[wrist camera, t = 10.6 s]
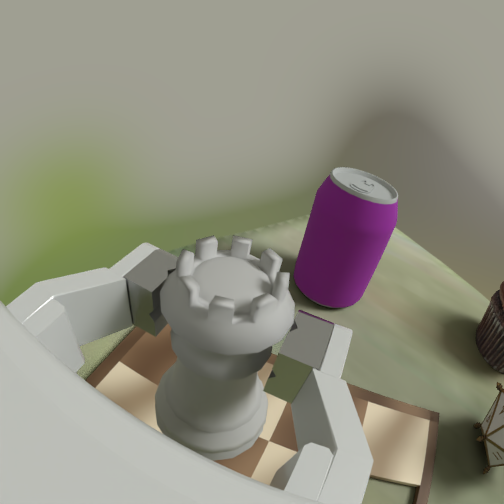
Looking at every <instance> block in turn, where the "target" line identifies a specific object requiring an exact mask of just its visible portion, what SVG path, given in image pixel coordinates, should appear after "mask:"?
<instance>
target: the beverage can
mask: <svg viewBox="0 0 504 504" xmlns="http://www.w3.org/2000/svg"><path fill="white" fill-rule="evenodd" d="M397 203H398V193H397V191H396V190H395V189H394V188H393V187H392V186H391V185H390V184H389V183H387V182H386V181H384V180H382V179H380V178H379V177H377V176H375V175H372V174H370V173H367V172H364V171H361V170H358V169H353V168H347V167H339V168H335V169H333V170H332V171H331V173H330V175H329V176H328V177H327V178H326V180H325V181H324V182H323V184H322V185H321V186H320V188H319V189H318V190H317V193H316V196H315V200H314V204H313V207H312V210H311V214H310V217H309V221H308V224H307V228H306V231H305V234H304V238H303V241H302V244H301V248H300V251H299V254H298V258H297V261H296V265H295V270H294V279H295V283H296V285H297V286H298V287H299V289H300V290H301V292H303V293H304V295H305V296H306V297H308V298H309V299H310V300H311V301H313V302H315V303H317V304H319V305H322V306H325V307H329V308H340V307H348V306H351V305H354V304H355V303H356V302H357V301H359V300H360V298H361V297H362V295H363V293H364V291H365V289H366V287H367V285H368V283H369V281H370V279H371V277H372V275H373V273H374V271H375V269H376V267H377V265H378V263H379V261H380V259H381V256H382V254H383V252H384V250H385V248H386V246H387V243H388V241H389V239H390V237H391V234H392V232H393V230H394V228H395V225H396V222H397V207H398V205H397Z"/></svg>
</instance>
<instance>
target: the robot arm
mask: <svg viewBox="0 0 504 504" xmlns="http://www.w3.org/2000/svg"><path fill="white" fill-rule="evenodd" d="M177 259H178V257H177V256H174V255H172V254H170V253H168V252H166V251H164V250H162V249H159V248H157V247H155V246H153V245H151V244H149V243H143V244H141V245H140V246H139V247H137V248H136V249H135V250H133V251H132V252H131V253H129V254H128V255H127V256H125V257H124V258H123V259H121V260H120V261H119V262H118V263H116V264H115V265H114V266H112V267H111V268H110V269H107V268H100V269H95V270H91V271H86V272H82V273H77V274H72V275H68V276H63V277H59V278H54V279H50V280H45V281H41V282H36V283H35V284H34V285H33V286H31V287H30V288H29V289H27V290H26V291H25V292H24V293H22V294H21V295H20V296H19V297H17V298H16V299H15V300H14V301H12V302H11V303H10V304H9V305H7V306H6V307H5V305H4V304H3V303H2V302H1V301H0V504H361V503H362V500H363V497H364V493H365V490H366V487H367V483H368V480H369V476H370V473H371V469H372V465H373V458H372V455H371V452H370V449H369V446H368V443H367V440H366V437H365V434H364V431H363V428H362V425H361V422H360V419H359V417H358V414H357V411H356V408H355V405H354V402H353V400H352V397H351V394H350V391H349V389H348V386H347V383H346V381H345V380H342V379H340V378H341V375H342V371H343V368H344V364H345V360H346V357H347V353H348V349H349V345H350V341H351V337H352V330H351V329H348V328H346V327H343V326H340V325H338V324H334V323H332V322H329V321H327V320H324V319H322V318H319V317H317V316H314V315H312V314H309V313H307V312H304V311H302V310H299V311H298V313H297V315H296V317H295V320H294V323H293V324H292V327H291V329H290V332H288V334H287V336H286V339H285V341H284V343H283V345H282V347H281V349H280V351H279V353H278V356H277V358H276V360H275V363H274V365H273V367H272V371H271V373H270V375H269V377H268V379H267V382H266V384H265V387H264V389H263V391H264V392H266V393H268V394H271V395H273V396H275V397H277V398H279V399H282V400H284V401H286V402H288V403H291V410H292V416H293V422H294V428H295V434H296V440H297V447H298V452H297V453H296V454H295V455H294V456H293V457H292V458H290V459H289V460H288V461H287V462H286V463H285V464H284V465H283V466H282V467H281V468H279V469H278V470H277V471H276V473H275V475H274V477H273V479H272V481H271V483H270V485H267V484H265V483H262V482H260V481H257V480H255V479H252V478H250V477H247V476H245V475H243V474H240V473H238V472H236V471H234V470H231V469H229V468H227V467H225V466H223V465H220V464H218V463H216V462H214V461H212V460H210V459H208V458H206V457H204V456H202V455H200V454H198V453H196V452H194V451H193V450H191V449H189V448H187V447H185V446H183V445H181V444H180V443H178V442H176V441H174V440H172V439H171V438H169V437H167V436H166V435H164V434H162V433H161V432H159V431H157V430H156V429H154V428H152V427H151V426H149V425H147V424H146V423H144V422H143V421H141V420H140V419H138V418H137V417H135V416H133V415H132V414H130V413H129V412H127V411H126V410H125V409H123V408H122V407H120V406H119V405H117V404H116V403H114V402H113V401H112V400H110V399H109V398H108V397H106V396H105V395H103V394H102V393H101V392H99V391H98V390H97V389H95V388H94V387H93V386H91V385H90V384H89V383H88V382H86V381H85V380H84V379H83V378H81V377H80V376H79V375H78V374H76V372H77V371H78V370H79V368H80V367H81V366H82V365H83V364H84V363H85V358H84V356H83V354H82V351H81V349H80V347H79V346H81V345H84V344H87V343H89V342H92V341H95V340H97V339H100V338H102V337H105V336H108V335H110V334H113V333H115V332H118V331H121V330H123V329H126V328H128V327H131V326H133V325H135V326H137V327H138V328H140V329H142V330H144V331H146V332H147V333H149V334H151V335H153V336H155V337H156V336H157V335H158V334H159V333H160V332H161V331H162V330H163V328H164V327H165V326H166V325H167V324H168V322H167V320H166V319H165V317H164V316H163V314H162V313H161V302H160V291H161V289H162V287H163V285H164V283H165V281H166V279H167V278H168V276H169V274H171V273H172V272H173V271H175V270H176V261H177Z"/></svg>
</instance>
